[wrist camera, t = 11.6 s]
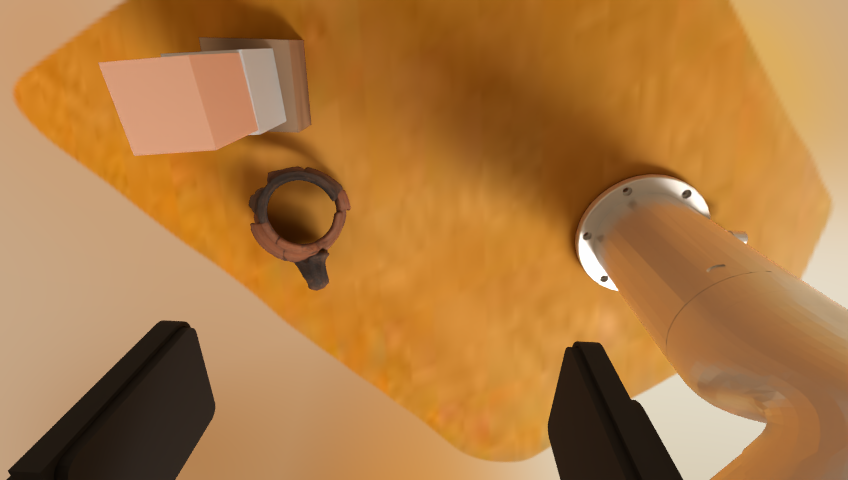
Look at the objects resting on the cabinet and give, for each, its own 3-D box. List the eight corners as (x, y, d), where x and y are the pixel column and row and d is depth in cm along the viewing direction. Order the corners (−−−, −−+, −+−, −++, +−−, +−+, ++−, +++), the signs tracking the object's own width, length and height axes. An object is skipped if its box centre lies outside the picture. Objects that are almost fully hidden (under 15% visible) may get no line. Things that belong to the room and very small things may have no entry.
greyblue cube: (272, 48, 32) (241, 49, 27) (286, 121, 34) (260, 134, 29) (203, 52, 32) (160, 53, 27) (222, 124, 34) (185, 137, 29)
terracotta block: (239, 52, 27) (188, 55, 21) (258, 130, 29) (216, 149, 23) (166, 58, 27) (98, 62, 22) (190, 134, 29) (134, 155, 24)
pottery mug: (238, 191, 41) (224, 183, 34) (326, 160, 44) (332, 145, 36) (286, 297, 43) (284, 313, 35) (368, 261, 46) (383, 269, 38)
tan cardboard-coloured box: (304, 40, 35) (288, 39, 31) (312, 123, 38) (298, 132, 34) (223, 37, 35) (198, 37, 31) (237, 121, 38) (216, 129, 34)
